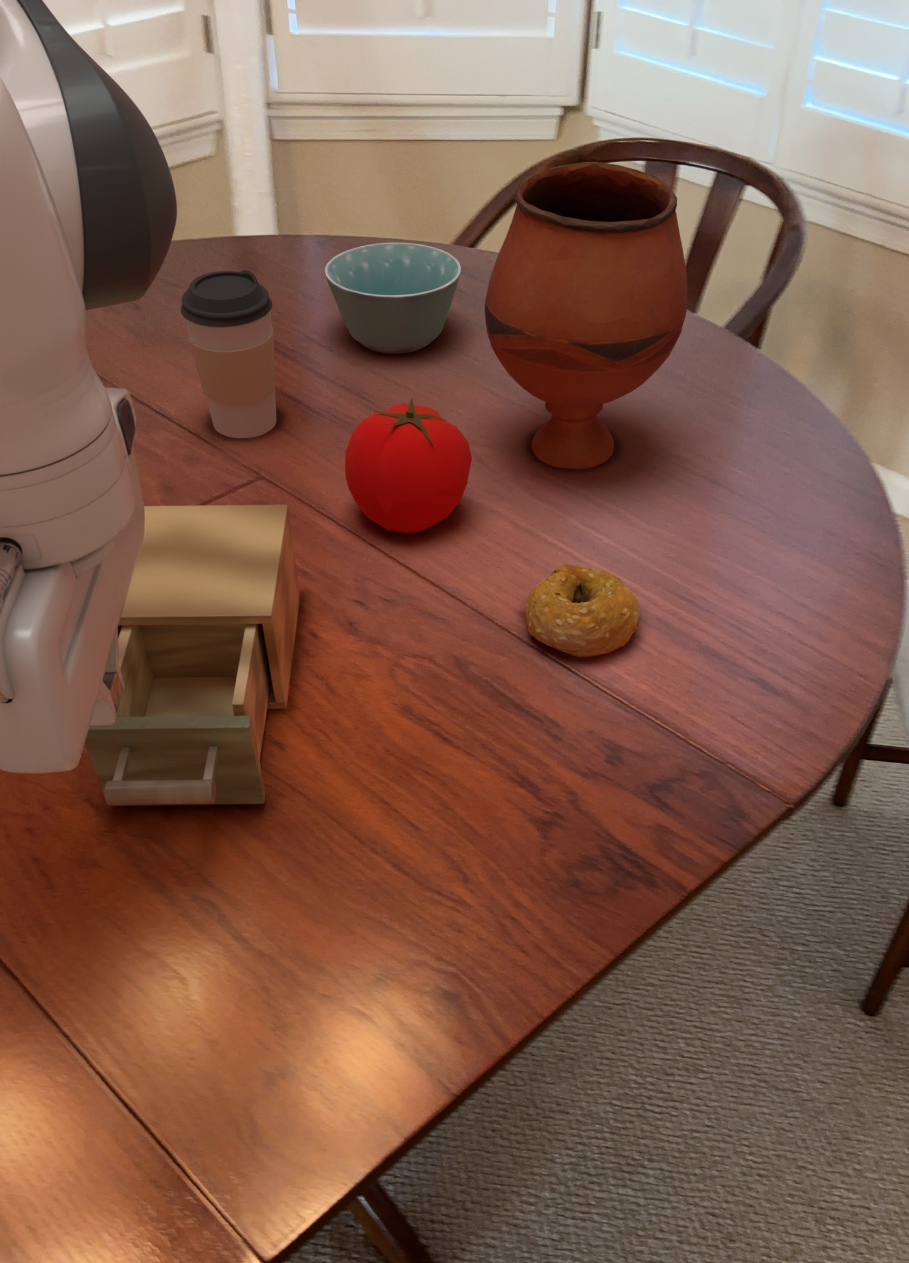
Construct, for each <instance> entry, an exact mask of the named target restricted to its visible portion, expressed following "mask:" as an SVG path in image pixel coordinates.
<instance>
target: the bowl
mask: <svg viewBox="0 0 909 1263" xmlns="http://www.w3.org/2000/svg"><path fill="white" fill-rule="evenodd" d="M461 273H462V266H461V264H460V262H459V260H458V259H457V257H455V256H454V255H452V254H451V253H449V252H447V251H445V250H442V249H440V248H437V247H434V246H430V245H425V244H420V243H411V242H380V243H372V244H371V243H370V244H366V245H363V246H357V247H354V248H350V249H348V250H345V251H343V252H341V253H339V254H336V255H335V256H334V257H332V258H331V259H330V260H328V262H327V263H326V264H325V267H324V276H325V278H326V281H327V282H328V286H329V288H330V291H331V293H332V296H333V298H334V301H335V303H336V306H337V308H338V310H339V313H340V314H341V317H342V319H343V321H344V323H345V326H346V328H347V331H348V333H349V334H350V336H351V337H352V338H353V339H354V340H355V341H357V342H358V343H359V344H360V345H362V346H363V347H364V348H366V349H368V350H370V351H373V352H377V353H381V354H389V355H391V354H392V355H393V354H394V355H395V354H396V355H397V354H398V355H400V354H408V353H413V352H417V351H419V350H422V349H425V348H426V347H427V346H429V345H430V344H431V343H432V342H433V341H434V340H435V339H437V338H438V337H439V336H440V334H441V333H442V332H443V329H444V326H445V322H446V320H447V317H448V314H449V310H450V308H451V305H452V303H453V300H454V296H455V294H456V289H457V287H458V283H459V280H460V277H461Z"/></svg>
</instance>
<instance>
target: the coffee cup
mask: <svg viewBox="0 0 909 1263" xmlns="http://www.w3.org/2000/svg"><path fill="white" fill-rule="evenodd" d="M181 303H182V304H181V306H180V314H181V316H182V317H183V318H184V321H185V324H186V327H187V328H186V329H187V338H188V342H189V346H190V350H191V353H192V357H193V360H194V364H195V367H196V371H197V374H198V379H199V382H200V385H201V389H202V393H203V395H204V396H205V399H206V403H207V407H208V409H209V410H208V411H209V414H210V417H211V422H212V425H213V428H214V430H215V431H216V432H217V433H219V434H220V435H223V436H225V437H228V438H233V439H250V438H256V437H260V436H263V435H265V434H266V433H267V434H268V432H270V431H272V430H273V428H274V427H275V426H276V424H277V404H276V387H277V386H276V384H277V383H276V382H277V381H276V361H275V357H276V356H275V338H274V336H275V335H274V327H273V325H272V309H273V300H272V299H271V297H270V293H269V291H268V289H266V288H265V287H264V286H263V285H262V284H260V283H259V281H258V279H257V277H256V275H255V273H253V272H252V271H250V270H249V269H243V270H240V271H235V270H218V271H212V272H207V273H204V274H202V275H199V276H197V277H196V278H194V279H192V281H191V282H190V284H189V287H188V288H187V289H186V291H185V292H184V293H183V294H182V297H181Z"/></svg>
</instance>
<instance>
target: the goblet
mask: <svg viewBox="0 0 909 1263" xmlns="http://www.w3.org/2000/svg"><path fill="white" fill-rule="evenodd" d="M514 202H515V204H516V205H515V208H514V209H515V210H514V212H513V216H512V218H511V223H510V225H509V227H508V230H507V233H506V236H505V238H504V241H503V242H502V245H501V247H500V249H499V251H498V254H497V256H496V259H495V263H494V265H493V268H492V271H491V274H490V277H489V281H488V284H487V290H486V295H485V300H484V320H485V328H486V333H487V337H488V340H489V343H490V346H491V349H492V352H494V354H495V356H496V357H497V360H498V361H499V362H500V364H501V366H502V367H503V369H504V370H505V371H506V373H507V374H508V375H509V376H510V377H511V378H512V379H513V381H515V383H516V384H518V385H519V386H520V387H521V388H522V389H523V390H525V391H526V392H527V393H528V394H529V395H531V396H533V397H535V398H536V399H538V400H541V401H542V402H545V403H544V407H545V409H546V411H548V412H549V414H551V417H550V418H549V419H548V420H547V421H545V423H544V424H542V426H541V427H540V428H539V429H538V430H537V432H536V433H535V435H534V436H533V438H532V440H531V450H532V452H533V454H534V455H535V456H536V458H537V459H538V460H539V461H540V462H543V463H545V464H546V465H548V466H550V467H551V466H552V467H555V468H561V469H572V470H586V469H591V468H595V467H598V466H600V465H601V464H604V463H606V462H607V461H608V460H609V459H610V458H611V456H613V453H614V449H615V442H614V438H613V435H612V434H611V432H610V431H609V429H608V428H607V426H606V425H605V424H604V423H603V422H602V420H600V419H599V417H598V416H597V415H598V414H599V413H601V411H602V410H603V409H604V404H608V403H611V402H614V401H616V400H618V399H620V398H622V397H624V396H626V395H628V394H631V393H632V392H633V391H635V390H637V389H638V388H639V387H642V386H643V384H645V383H646V382H647V381H649V379H650V378H651V377H652V376H653V375H654V374H655V373H656V372H657V371H658V370H659V369H660V368H661V367H662V365H663V364H664V363H665V362H666V361H667V360H668V358H669V357H670V355H671V353H672V351H673V350H674V348H675V346H676V344H677V342H678V340H679V338H680V336H681V334H682V331H683V326H684V323H685V320H686V315H687V310H688V277H687V276H688V275H687V267H686V260H685V254H684V248H683V242H682V238H681V237H682V236H681V233H680V227H679V226H680V225H679V221H678V215H677V207H678V197H677V196H676V194H675V192H674V191H673V190H672V188H670V186H669V185H668V184H667V183H665V182H664V181H663V180H661V179H660V178H659V177H657V176H654V175H651V174H649V173H646V172H644V171H641V170H639V169H636V168H632V167H628V166H623V165H620V164H616V163H615V164H614V163H609V162H608V163H607V162H598V161H583V162H582V161H581V162H576V163H570V164H568V163H567V164H563V165H558V166H554V167H549V168H547V169H544V170H541V171H538V172H535V173H533V174H530V175H529V176H527V177H525V179H523V181H521V183H519V184H518V186H517V188H516V191H515V194H514Z"/></svg>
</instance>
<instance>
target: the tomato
mask: <svg viewBox="0 0 909 1263" xmlns="http://www.w3.org/2000/svg"><path fill="white" fill-rule="evenodd" d="M413 399H414V398H413V397H411V399H410V401H409V403H408V402H407V403H406V402H404V403H397V404H396V403H395V404H392V405H391V406H390V407H389V408H387V409H386V410H385V411H383V412H382V411H376V410H372V412H373V414H371V415H369V416H367V417H365V418H364V419H362V420H361V421H360V422H359V423H358V424H357V426H356V427H355V429H354V430H353V432H352V433H351V435H350V438H349V440H348V443H347V446H346V449H345V452H344V453H345V455H344V472H345V473H344V474H345V480H346V485H347V488H348V490H349V493H350V494H351V496H352V498H353V500H354V502H355V504H356V505H357V506H358V507H359V509H360V510H361V512H363V513H364V515H365V516H366V517H367V519H369V520H370V521H372V522H374V524H377V525H379V526H380V527H382V528H383V529H385V530H386V531H389V532H395V533H400V534H413V533H421V532H423V531H425V530H428V529H429V528H431V527H433V526H435V525H437V524H438V523H441V522H443V521H444V520H446V519H447V518H448V517H449V516H450V514H451V513H452V512H453V511H454V510H455V508H456V507H457V506H458V505H459V503H460V502H461V500H462V497H463V495H464V492H465V490H466V488H467V485H468V483H469V477H470V471H471V465H472V460H473V457H472V452H471V447H470V442H469V440H468V439H467V438H466V436H465V435H464V434H463V433H462V431H461V430H460V429H459V427H458V426H457V425H455V424H452V423H451V422H449V420H448V419H444V418H443V416H442V415H441V414H440V412H438V411H437V410H436V409H434V408H432V407H430V406H424V405H418V404H414V400H413Z"/></svg>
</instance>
